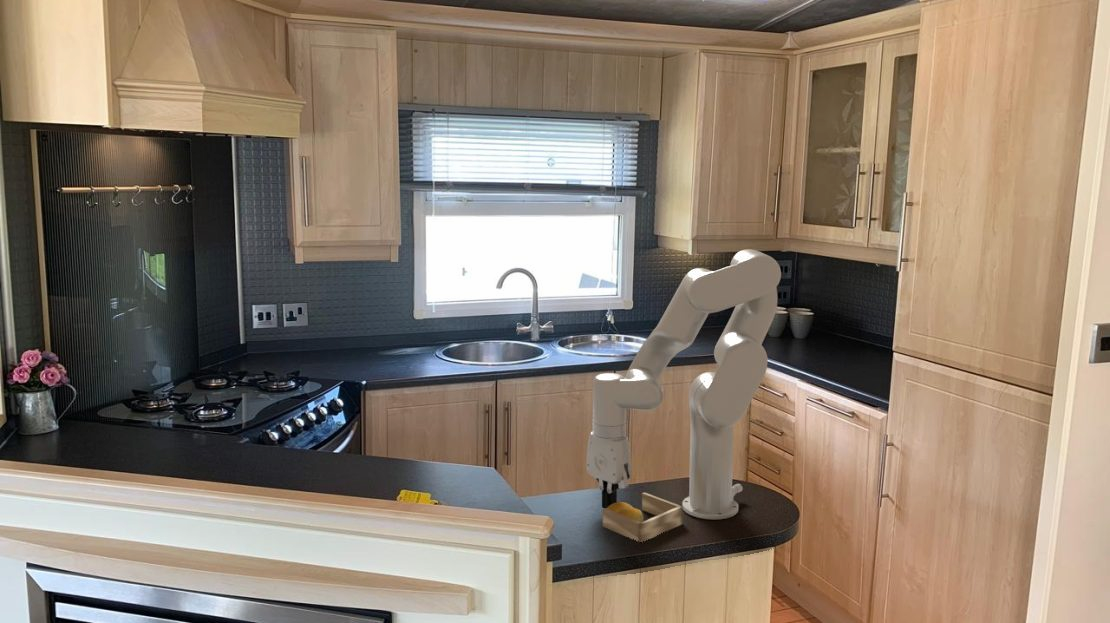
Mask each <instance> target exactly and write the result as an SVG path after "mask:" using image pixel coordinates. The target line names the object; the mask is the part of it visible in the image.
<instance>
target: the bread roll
mask: <svg viewBox="0 0 1110 623" xmlns="http://www.w3.org/2000/svg"><path fill="white" fill-rule="evenodd" d="M606 509H608V510H611V511H613V512H616V513H618V514H621V515H623V516H626V517H628V518H631V519H633V520H636V521H638V522H640V523H641V522H644V515H643V512H642V511H641V510H640V509H638V508H637V507H633V506H632V505H631V504H630V503H628V502H627V503H626V502H624V501H623V502H622V501H617V502H616V503H613V504H611V505H610V506H609V507H607V508H606Z"/></svg>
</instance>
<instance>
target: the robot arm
mask: <svg viewBox="0 0 1110 623" xmlns="http://www.w3.org/2000/svg"><path fill="white" fill-rule="evenodd" d="M781 277H782V271H781V267H780V265H779V263H778V261H776V260H775V259H774V258H773V257H772V256H770V255H768V254H765V253H763V252H762V251H759V250H756V249H752V248H751V249H750V248H749V249H747V248H746V249H742V250H740V251H738V252H737V253H735V255H733V257H732V258H731V262H730V265H729V266H725V267H723V268H720V269H717V270H714V271H712V270H710V269H708V268H703V267H697V268H693V269H691V270H690V271H689V272H687V273H686V274H685V276H684V277H683V279H682V280H681V282H680V284H679V286H678V288H677V289H676V291H675V292H674V295H673V296H672V298H671V300H670V302H669V303H668V305H667V308H666V310H665V311H664V313H663V315H662V316H661V318H660V320H659V322H658V323H657V325H656V327H655V328H654V329H653V330H652V331H651V333H650V335H649V336H648V337H647V338H646V340H645V341H644V342H643V344H642V345H641V347H640V348H639V350H638V351H637V353H636V355H635V357H634V358H633V360H632V362H631V363H630V366H629V367H628V369H627V372H626V374H625V375H621V374H619V373H615V372H614V373H613V372H612V373H611V372H607V373H600V374H597V375H596V376H594V378H593V380H592V420H591V425H592V431H591V432H590V434H589V438H588V441H587V442H588V443H587V451H586V473H587V474H588V475H590V476H591V477H592V478H594V479H595V480H596V481H597V483H598V485H599V491H601V508H602V509H605V508H607V507H609V506H610V505H611V504H613V503H616V502H618V500H617V499H618V498H617V497H618V493H617V492H618V491H619V490H620V489H623V490H624V489H626V488H628V487H630V486H629V481H628V480H630V479H631V474H632V473H631V471H632V462H631V460H632V459H631V451H630V450H631V449H630V442H629V437H628V436H627V429H628V428H627V426H628V425H627V423H628V422H627V417H628V416H627V415H628V414H627V413H628V411H627V410H636V411H642V412H643V411H644V412H646V411H647V412H648V411H653V410H656V409H657V408H659V406H661V405H662V403H663V400H664V394H665V393H664V390H663V387H662V386H661V385H662V384H661V383H660V382H659V380H660V378H661V376H662V374H663V373H664V372H665V369H666V368H667V366H668V364H670V361H671V360H672V359H673V358H674V357H675V356H676V355H677V354H678V353H680V352H681V351H683V350H686V349H687V348H689V347H690V346H691V345H692V344H693V343H694V341H695V339H696V337H697V335H698V334H699V332H700V330H701V328H702V326H703V325H704V323H705V321H706V320H707V318H708V315H709V314H713V313H718V312H721V311H725V310H727V309H730V308H733V307H734V309H733V311H732V313H731V315H730V318H729V319H728V322H727V324H726V325H725V328H724V329H723V332H722V333H721V335H720V336H719V338H718V341H717V342H716V345H715V347H714V350H713V355H714V356H713V357H714V359H715V362H716V364H717V365H718V369H717V370H716V371H715V372H714V371H707V372H704V373H701V374H700V375H698V376H697V377H696V378H694V380H693V381H692V383H691V385H690V387H689V391H688V406H689V407H688V408H689V422H690V428H689V429H690V430H689V432H690V433H689V434H690V435H689V436H690V438H689V440H690V441H689V485H688V486H689V487H688V488H689V490H688V491H689V492H688V494H689V495H688V496H687V497H685V498H684V499H683V500H682V502H681V504H682V505H681V506H683V512H685V513H686V514H688V515H690V516H692V517H696V518H698V519H703V520H712V521H713V520H723V519H725V520H726V519H729V518H732V517H734V516H735V515H737V513H739V503H738V502H737V501H736V500H735V499H734V497H735V496H736V494H738V493H740V492H743V486H742V484H740V483H736V484H734V485H733V467H734V466H733V464H734V463H733V461H734V460H733V459H734V426H735V425H736V424H737V423H738V422H739V421H740V420H741V419H742V417H743V416H744V414H745V413H746V411H747V410H748V408H749V406H750V404H751V402H752V400H753V398H754V396H755V395H756V393H757V391H758V389H759V387H760V385H761V383H762V381H763V380H764V377H765V375H766V372H767V368H768V355H767V352H766V350H765V348H764V346H763V345H762V344H763V342H764V340H765V337H766V335H767V333H768V331H769V329H770V327H771V325H772V323H773V321H774V318H775V315H776V313H777V309H778V308H777V307H778V289H777V287H778V286H779V283H780V282H781Z"/></svg>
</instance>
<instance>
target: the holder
mask: <svg viewBox="0 0 1110 623" xmlns="http://www.w3.org/2000/svg"><path fill="white" fill-rule="evenodd" d="M641 495H642V496H641V510H642V511H644V512H646V513H649V514H651V515H654V516H653V517H650V518H648V519H647V520H643V522H641V523H640V522H638V521H636V520H633V519H631V518H628V517H626V516H623V515H621V514H618V513H616V512H613V511H611V510H608V509H606V508H602V527H603V528H606V529H608V530H609V531H611V532H614V533H617V534H619V535H621V536H624V537H626V538H628V537H629V539H630V540H633V539H634V540H633V541H635V540H636V542H638V541H639V542H638V543H640V542H642V543H644V542H646V540H647V541H648V539H649V540H650V539H653V538H655V537H657V535H658V536H660V535H661V533H662V534H663V532H664V533H666V532H668V531H670V530H672V529H675V528H677V527H680V526H682V525H683V524H684V510H683V506H682V505H679V504H677V503H675V502H672V501H669V500H666V499H663V498H660V497H658V496H655V495H653V494H650V493H647V492H642V493H641ZM665 531H666V532H665ZM659 534H660V535H659ZM643 541H644V542H643Z"/></svg>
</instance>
